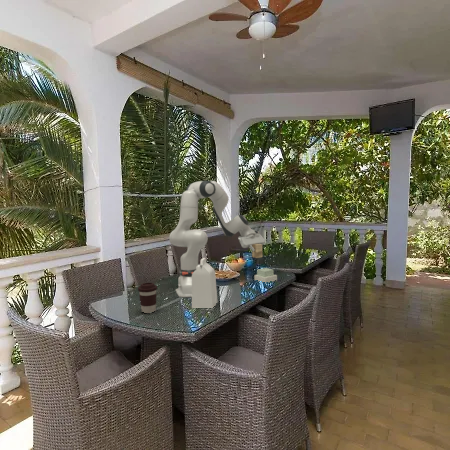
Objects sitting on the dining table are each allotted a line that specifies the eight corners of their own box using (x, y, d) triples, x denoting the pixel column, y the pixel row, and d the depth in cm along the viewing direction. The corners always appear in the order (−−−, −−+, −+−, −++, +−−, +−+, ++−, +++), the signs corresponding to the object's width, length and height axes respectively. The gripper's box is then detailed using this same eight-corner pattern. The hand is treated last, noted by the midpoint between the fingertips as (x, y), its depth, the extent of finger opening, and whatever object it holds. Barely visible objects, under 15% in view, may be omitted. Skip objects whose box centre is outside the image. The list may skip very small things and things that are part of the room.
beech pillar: (262, 256, 248) (262, 244, 247) (257, 258, 245) (257, 245, 244) (257, 256, 252) (257, 243, 251) (252, 257, 249) (252, 244, 248)
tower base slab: (277, 280, 244) (276, 275, 244) (265, 283, 238) (265, 278, 237) (266, 278, 253) (265, 272, 253) (254, 280, 247) (254, 275, 246)
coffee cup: (159, 308, 193) (158, 281, 191) (156, 314, 183) (155, 286, 181) (141, 309, 192) (139, 282, 191) (137, 315, 182) (135, 286, 181)
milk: (212, 309, 188) (210, 261, 186) (191, 308, 191) (189, 260, 188) (217, 302, 200) (216, 256, 198) (197, 301, 202) (196, 256, 200)
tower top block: (273, 275, 244) (273, 269, 244) (264, 277, 240) (264, 271, 239) (266, 273, 251) (265, 267, 250) (257, 275, 246) (257, 269, 246)
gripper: (239, 233, 246) (249, 249, 239) (260, 231, 258) (270, 245, 252) (235, 239, 250) (244, 255, 243) (256, 236, 262) (265, 251, 255)
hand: (257, 250), depth 247 cm, fingers closed on beech pillar, 5 cm apart
